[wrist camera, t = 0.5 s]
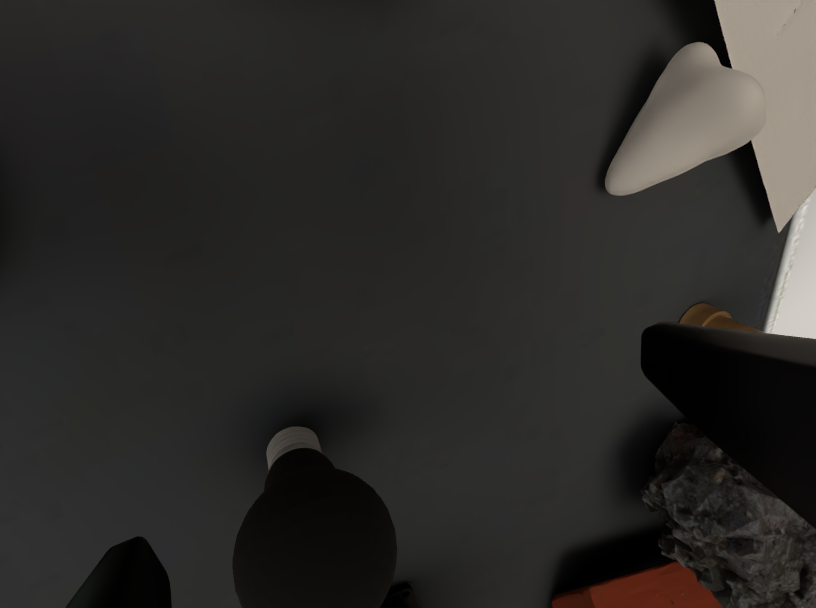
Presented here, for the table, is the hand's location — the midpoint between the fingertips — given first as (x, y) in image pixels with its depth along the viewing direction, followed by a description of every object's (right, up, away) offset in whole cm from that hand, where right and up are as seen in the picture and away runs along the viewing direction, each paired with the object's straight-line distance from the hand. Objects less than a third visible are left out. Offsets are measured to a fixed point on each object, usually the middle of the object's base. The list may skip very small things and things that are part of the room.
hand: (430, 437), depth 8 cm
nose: (+14, +13, +13) cm, 23 cm away
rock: (+30, -8, +25) cm, 40 cm away
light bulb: (-6, -4, +16) cm, 18 cm away
